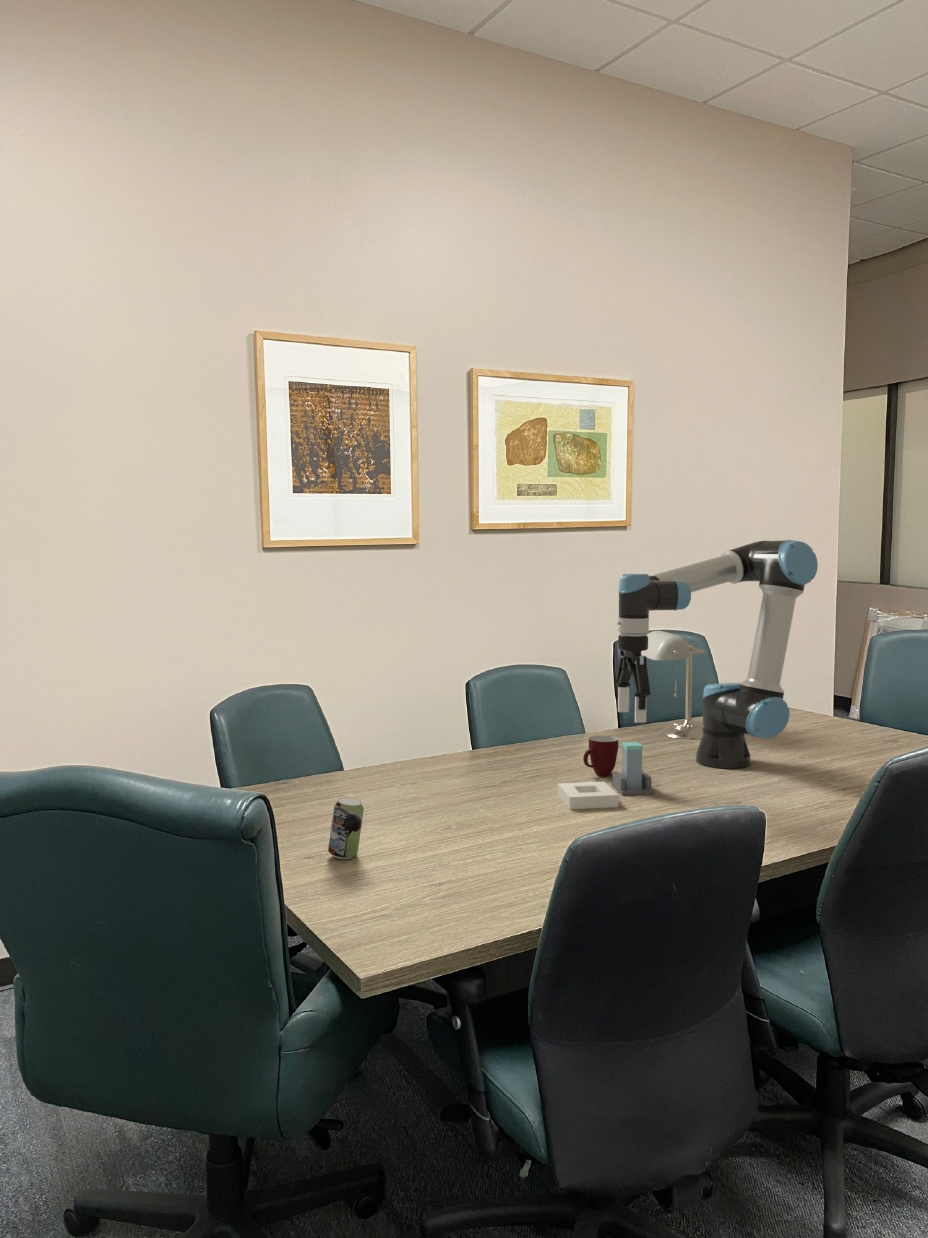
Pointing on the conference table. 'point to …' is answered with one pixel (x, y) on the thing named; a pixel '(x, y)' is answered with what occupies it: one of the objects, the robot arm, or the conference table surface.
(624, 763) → the plug
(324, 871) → the conference table surface
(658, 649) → the lamp
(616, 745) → the mug
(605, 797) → the frame
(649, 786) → the holster
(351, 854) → the beverage can
